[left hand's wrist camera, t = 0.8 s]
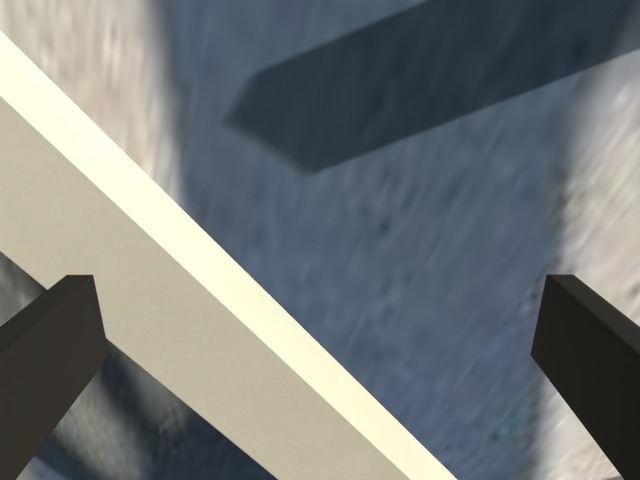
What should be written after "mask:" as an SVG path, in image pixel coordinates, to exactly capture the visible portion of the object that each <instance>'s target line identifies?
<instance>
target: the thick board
mask: <svg viewBox="0 0 640 480" xmlns="http://www.w3.org/2000/svg"><path fill="white" fill-rule="evenodd" d="M0 251H1V252H2V253H3V254H4V255H6V256H7V257H8V258H9V259H10V260H12V261H13V262H14V263H15V264H16V265H18V266H19V267H20V268H21V269H23V270H24V271H25V272H26V273H27V274H29V275H30V276H31V277H32V278H34V279H35V280H36V281H37V282H38V283H40V284H41V285H42V286H43V287H44V288H46V289H47V290H48V289H49V288H50V287H52V286H53V285H54V284H56V283H57V282H58V281H59V280H61V279H62V278H63V277H64V276H66V275H93V276H94V281H95V286H96V291H97V296H98V301H99V306H100V311H101V316H102V320H103V325H104V330H105V335H106V338H107V339H108V340H109V341H110V342H111V343H113V344H114V345H115V346H116V347H117V348H119V349H120V350H121V351H122V352H124V353H125V354H126V355H127V356H128V357H130V358H131V359H132V360H133V361H134V362H136V363H137V364H138V365H139V366H141V367H142V368H143V369H144V370H145V371H147V372H148V373H149V374H150V375H152V376H153V377H154V378H155V379H156V380H158V381H159V382H160V383H161V384H162V385H164V386H165V387H166V388H167V389H169V390H170V391H171V392H172V393H173V394H175V395H176V396H177V397H178V398H180V399H181V400H182V401H183V402H184V403H186V404H187V405H188V406H189V407H190V408H192V409H193V410H194V411H195V412H197V413H198V414H199V415H200V416H201V417H203V418H204V419H205V420H206V421H207V422H209V423H210V424H211V425H212V426H214V427H215V428H216V429H217V430H218V431H220V432H221V433H222V434H223V435H225V436H226V437H227V438H228V439H229V440H231V441H232V442H233V443H234V444H235V445H237V446H238V447H239V448H240V449H242V450H243V451H244V452H245V453H246V454H248V455H249V456H250V457H251V458H252V459H254V460H255V461H256V462H257V463H259V464H260V465H261V466H262V467H263V468H265V469H266V470H267V471H268V472H270V473H271V474H272V475H273V476H274V477H276V478H277V479H278V480H457V479H456V478H455V477H454V476H453V475H452V474H451V473H450V472H449V471H448V470H447V469H446V468H445V467H444V466H443V465H442V464H441V463H440V462H439V461H438V460H437V459H436V458H435V457H434V456H433V455H432V454H431V453H429V452H428V451H427V450H426V449H425V448H424V447H423V446H422V445H421V444H420V443H419V442H418V441H417V440H416V439H415V438H414V437H413V436H412V435H411V434H410V433H409V432H408V431H407V430H406V429H405V428H404V427H403V426H402V425H401V424H400V423H399V422H398V421H397V420H396V419H395V418H394V417H393V416H392V415H391V414H390V413H389V412H388V411H387V410H386V409H385V408H384V407H383V406H382V405H381V404H380V403H379V402H378V401H377V400H376V399H375V398H374V397H373V396H371V395H370V394H369V393H368V392H367V391H366V390H365V389H364V388H363V387H362V386H361V385H360V384H359V383H358V382H357V381H356V380H355V379H354V378H353V377H352V376H351V375H350V374H349V373H348V372H347V371H346V370H345V369H344V368H343V367H342V366H341V365H340V364H339V363H338V362H337V361H336V360H335V359H334V358H333V357H332V356H331V355H330V354H329V353H328V352H327V351H326V350H325V349H324V348H323V347H322V346H321V345H320V344H319V343H318V342H317V341H316V340H315V339H313V338H312V337H311V336H310V335H309V334H308V333H307V332H306V331H305V330H304V329H303V328H302V327H301V326H300V325H299V324H298V323H297V322H296V321H295V320H294V319H293V318H292V317H291V316H290V315H289V314H288V313H287V312H286V311H285V310H284V309H283V308H282V307H281V306H280V305H279V304H278V303H277V302H276V301H275V300H274V299H273V298H272V297H271V296H270V295H269V294H268V293H267V292H266V291H265V290H264V289H263V288H262V287H261V286H260V285H259V284H258V283H256V282H255V281H254V280H253V279H252V278H251V277H250V276H249V275H248V274H247V273H246V272H245V271H244V270H243V269H242V268H241V267H240V266H239V265H238V264H237V263H236V262H235V261H234V260H233V259H232V258H231V257H230V256H229V255H228V254H227V253H226V252H225V251H224V250H223V249H222V248H221V247H220V246H219V245H218V244H217V243H216V242H215V241H214V240H213V239H212V238H211V237H210V236H209V235H208V234H207V233H206V232H205V231H204V230H203V229H202V228H201V227H200V226H198V225H197V224H196V223H195V222H194V221H193V220H192V219H191V218H190V217H189V216H188V215H187V214H186V213H185V212H184V211H183V210H182V209H181V208H180V207H179V206H178V205H177V204H176V203H175V202H174V201H173V200H172V199H171V198H170V197H169V196H168V195H167V194H166V193H165V192H164V191H163V190H162V189H161V188H160V187H159V186H158V185H157V184H156V183H155V182H154V181H153V180H152V179H151V178H150V177H149V176H148V175H147V174H146V173H145V172H144V171H143V170H142V169H140V168H139V167H138V166H137V165H136V164H135V163H134V162H133V161H132V160H131V159H130V158H129V157H128V156H127V155H126V154H125V153H124V152H123V151H122V150H121V149H120V148H119V147H118V146H117V145H116V144H115V143H114V142H113V141H112V140H111V139H110V138H109V137H108V136H107V135H106V134H105V133H104V132H103V131H102V130H101V129H100V128H99V127H98V126H97V125H96V124H95V123H94V122H93V121H92V120H91V119H90V118H89V117H88V116H87V115H86V114H85V113H83V112H82V111H81V110H80V109H79V108H78V107H77V106H76V105H75V104H74V103H73V102H72V101H71V100H70V99H69V98H68V97H67V96H66V95H65V94H64V93H63V92H62V91H61V90H60V89H59V88H58V87H57V86H56V85H55V84H54V83H53V82H52V81H51V80H50V79H49V78H48V77H47V76H46V75H45V74H44V73H43V72H42V71H41V70H40V69H39V68H38V67H37V66H36V65H35V64H34V63H33V62H32V61H31V60H30V59H29V58H28V57H27V56H25V55H24V54H23V53H22V52H21V51H20V50H19V49H18V48H17V47H16V46H15V45H14V44H13V43H12V42H11V41H10V40H9V39H8V38H7V37H6V36H5V35H4V34H3V33H2V32H1V31H0Z"/></svg>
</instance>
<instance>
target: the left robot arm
mask: <svg viewBox="0 0 640 480" xmlns="http://www.w3.org/2000/svg"><path fill="white" fill-rule="evenodd" d="M108 356H109V350H108V345H107V340H106V335H105V330H104V325H103V320H102V316H101V311H100V306H99V301H98V296H97V291H96V286H95V281H94V276H93V275H66V276H64V277H63V278H62V279H61V280H59V281H58V282H57V283H56V284H54V285H53V286H52V287H50V288H49V289H48V290H47V291H45V292H44V293H43V294H42V295H40V296H39V297H38V298H37V299H35V300H34V301H33V302H31V303H30V304H29V305H28V306H26V307H25V308H24V309H23V310H21V311H20V312H19V313H18V314H16V315H15V316H14V317H12V318H11V319H10V320H9V321H7V322H6V323H5V324H4V325H2V326H1V327H0V480H16V479H17V477H18V476H19V475H20V473H21V472H22V471H23V469H24V468H25V467H26V465H27V464H28V463H29V461H30V460H31V459H32V457H33V456H34V455H35V453H36V452H37V451H38V449H39V448H40V447H41V445H42V444H43V443H44V441H45V440H46V439H47V437H48V436H49V435H50V433H51V432H52V431H53V429H54V428H55V427H56V425H57V424H58V423H59V421H60V420H61V419H62V417H63V416H64V415H65V413H66V412H67V411H68V409H69V408H70V407H71V405H72V404H73V403H74V401H75V400H76V399H77V397H78V396H79V395H80V393H81V392H82V391H83V389H84V388H85V387H86V385H87V384H88V383H89V382H90V380H91V379H92V378H93V376H94V375H95V374H96V372H97V371H98V370H99V368H100V367H101V366H102V364H103V363H104V362H105V360H106V359H107V358H108ZM531 356H532V358H533V359H534V360H535V362H536V363H537V364H538V366H539V367H540V368H541V370H542V371H543V372H544V374H545V375H546V376H547V378H548V379H549V380H550V382H551V383H552V384H553V385H554V387H555V388H556V389H557V391H558V392H559V393H560V395H561V396H562V397H563V399H564V400H565V401H566V403H567V404H568V405H569V407H570V408H571V409H572V411H573V412H574V413H575V415H576V416H577V417H578V419H579V420H580V421H581V423H582V424H583V425H584V427H585V428H586V429H587V431H588V432H589V433H590V435H591V436H592V437H593V439H594V440H595V441H596V443H597V444H598V445H599V447H600V448H601V449H602V451H603V452H604V453H605V455H606V456H607V457H608V459H609V460H610V461H611V463H612V464H613V465H614V467H615V468H616V469H617V471H618V472H619V473H620V475H621V476H622V477H623V479H624V480H640V327H639V326H638V325H636V324H635V323H634V322H633V321H631V320H630V319H629V318H628V317H626V316H625V315H624V314H622V313H621V312H620V311H619V310H617V309H616V308H615V307H614V306H612V305H611V304H610V303H609V302H607V301H606V300H605V299H603V298H602V297H601V296H600V295H598V294H597V293H596V292H595V291H593V290H592V289H591V288H590V287H588V286H587V285H586V284H584V283H583V282H582V281H581V280H579V279H578V278H577V277H576V276H574V275H547V276H546V281H545V286H544V291H543V296H542V301H541V306H540V311H539V316H538V320H537V325H536V330H535V335H534V340H533V345H532V350H531Z"/></svg>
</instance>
